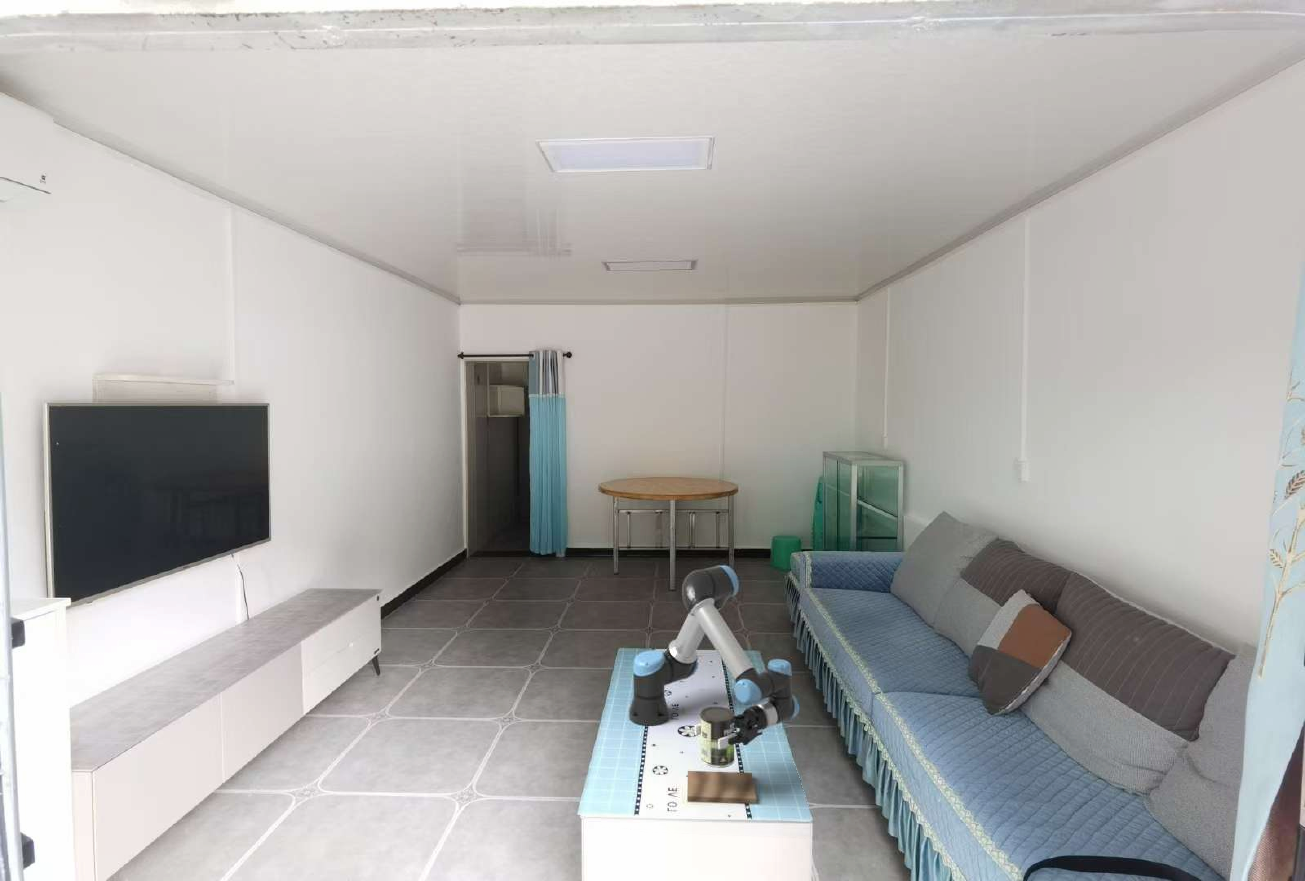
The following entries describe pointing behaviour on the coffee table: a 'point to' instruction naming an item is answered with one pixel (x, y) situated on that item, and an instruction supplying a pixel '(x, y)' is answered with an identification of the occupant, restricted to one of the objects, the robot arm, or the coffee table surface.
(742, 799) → the walnut board
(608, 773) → the coffee table surface
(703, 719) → the coffee can
